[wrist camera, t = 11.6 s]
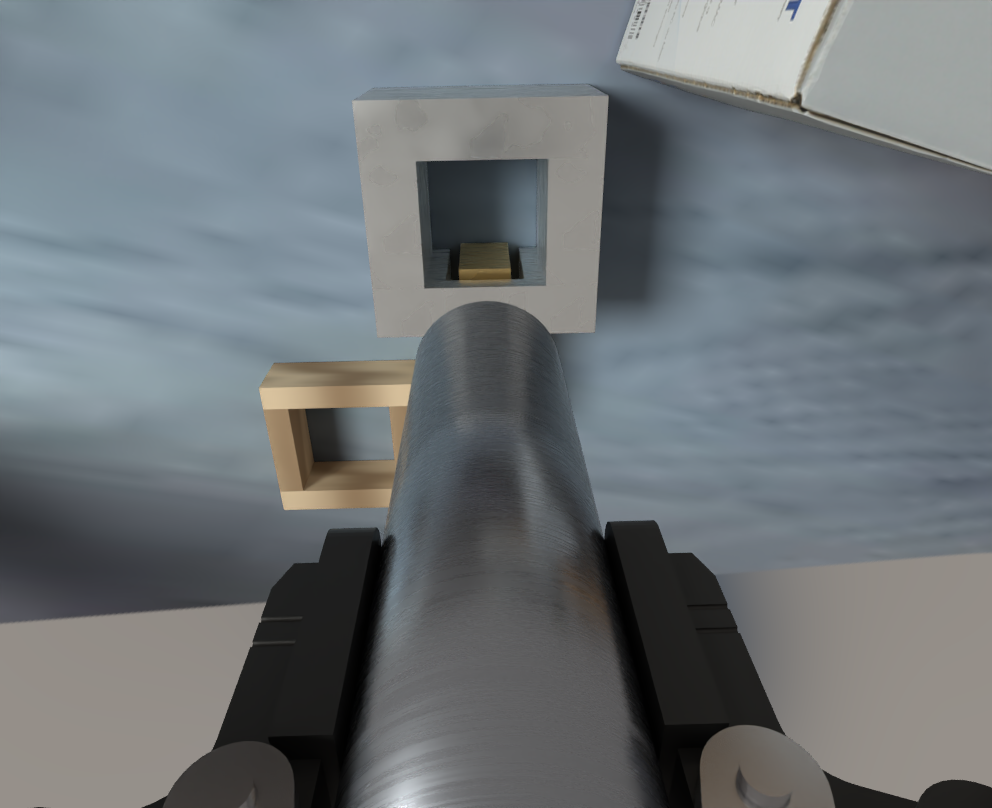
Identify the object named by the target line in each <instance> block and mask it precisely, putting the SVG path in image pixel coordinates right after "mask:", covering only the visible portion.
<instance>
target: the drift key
mask: <svg viewBox="0 0 992 808" xmlns="http://www.w3.org/2000/svg"><path fill="white" fill-rule="evenodd" d="M500 279H511V266H510V258H509V250H508V243H507V242H502V243H461V248H460V261H459V280H500Z"/></svg>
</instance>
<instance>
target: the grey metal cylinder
mask: <svg viewBox="0 0 992 808" xmlns="http://www.w3.org/2000/svg"><path fill="white" fill-rule="evenodd" d="M334 808H670V806H669V802H668V798H667V793H666V789H665V785H664V781H663V777H662V773H661V769H660V765H659V761H658V757H657V753H656V749H655V745H654V741H653V737H652V732H651V728H650V724H649V720H648V716H647V712H646V708H645V704H644V700H643V696H642V692H641V688H640V684H639V680H638V676H637V671H636V667H635V663H634V659H633V655H632V651H631V647H630V643H629V639H628V635H627V631H626V627H625V623H624V619H623V615H622V610H621V606H620V602H619V598H618V594H617V590H616V586H615V582H614V578H613V574H612V570H611V566H610V562H609V558H608V554H607V549H606V545H605V541H604V537H603V533H602V529H601V525H600V521H599V517H598V513H597V509H596V505H595V501H594V497H593V493H592V488H591V484H590V480H589V476H588V472H587V468H586V464H585V460H584V456H583V452H582V448H581V444H580V440H579V436H578V432H577V427H576V423H575V419H574V415H573V411H572V407H571V403H570V399H569V395H568V391H567V387H566V383H565V379H564V375H563V371H562V367H561V362H560V358H559V354H558V350H557V347H556V344H555V342H554V340H553V338H552V336H551V334H550V333H549V331H548V330H547V329H546V327H545V326H544V325H543V324H542V323H541V322H540V321H539V320H538V319H537V318H536V317H534V316H533V315H532V314H530V313H529V312H527V311H525V310H523V309H521V308H519V307H517V306H514V305H511V304H507V303H503V302H497V301H480V302H473V303H468V304H465V305H462V306H459V307H456V308H454V309H452V310H450V311H448V312H447V313H446V314H444V315H443V316H441V317H440V318H439V319H438V320H436V321H435V322H434V323H433V324H432V325H431V327H430V328H429V329H428V330H427V332H426V333H425V335H424V336H423V338H422V340H421V343H420V345H419V348H418V351H417V355H416V361H415V366H414V372H413V377H412V383H411V388H410V394H409V399H408V405H407V410H406V416H405V421H404V427H403V432H402V438H401V443H400V449H399V454H398V460H397V465H396V471H395V476H394V482H393V487H392V493H391V498H390V504H389V509H388V515H387V520H386V526H385V531H384V537H383V542H382V548H381V553H380V559H379V564H378V570H377V575H376V581H375V586H374V592H373V597H372V603H371V608H370V614H369V619H368V625H367V630H366V636H365V641H364V647H363V652H362V658H361V663H360V669H359V674H358V680H357V685H356V691H355V696H354V702H353V707H352V713H351V718H350V724H349V729H348V735H347V740H346V746H345V751H344V757H343V762H342V768H341V773H340V779H339V784H338V790H337V795H336V801H335V806H334Z"/></svg>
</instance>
